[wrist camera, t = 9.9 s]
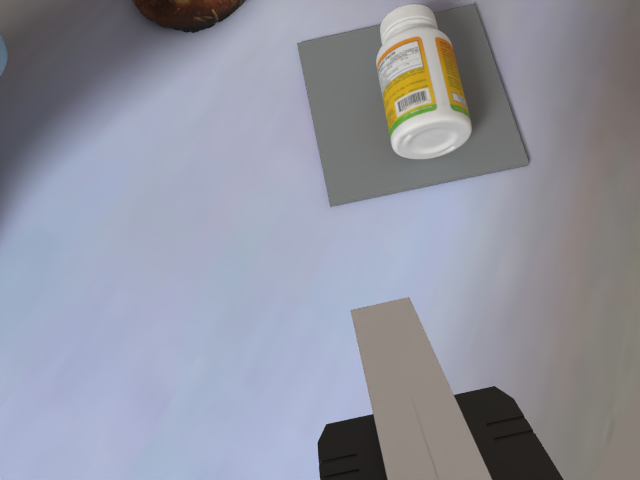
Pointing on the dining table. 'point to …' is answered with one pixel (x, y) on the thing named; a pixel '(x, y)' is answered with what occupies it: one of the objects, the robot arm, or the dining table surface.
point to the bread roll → (187, 12)
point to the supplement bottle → (420, 85)
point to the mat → (371, 124)
